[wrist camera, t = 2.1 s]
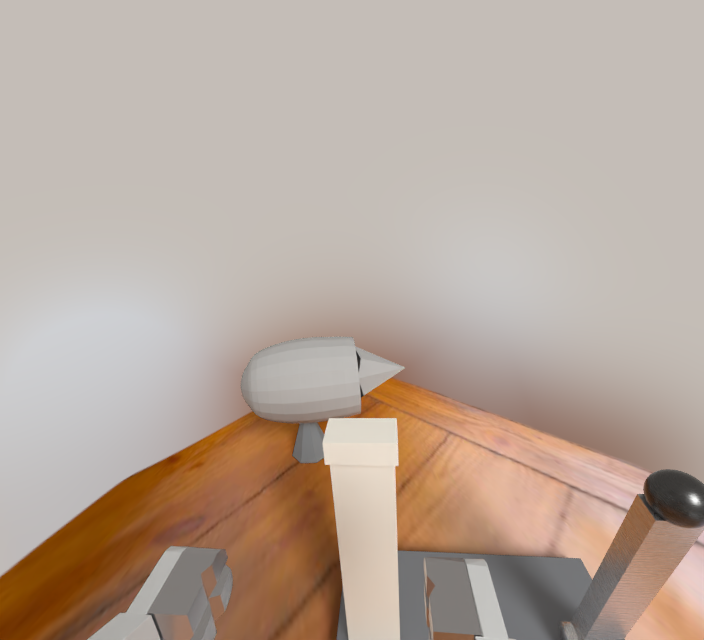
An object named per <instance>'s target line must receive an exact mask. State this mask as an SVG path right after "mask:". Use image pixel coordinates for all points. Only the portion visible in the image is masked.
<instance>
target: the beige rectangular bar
mask: <svg viewBox="0 0 704 640" xmlns="http://www.w3.org/2000/svg"><path fill="white" fill-rule="evenodd" d="M323 452H324V461H325V465H330V470H331V480H332V489H333V498H334V508H335V517H336V527H337V536H338V545H339V555H340V564H341V573H342V583H343V592H344V602H345V611H346V620H347V630H348V639H349V640H400V618H399V584H398V550H397V516H396V482H395V466H398V435H397V418H329V420H328V423H327V427H326V431H325V435H324V439H323Z"/></svg>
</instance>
